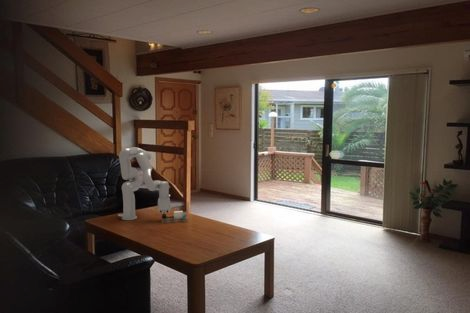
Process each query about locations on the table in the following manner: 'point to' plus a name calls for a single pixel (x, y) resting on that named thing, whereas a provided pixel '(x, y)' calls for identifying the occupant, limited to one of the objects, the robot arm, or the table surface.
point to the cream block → (178, 214)
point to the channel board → (174, 219)
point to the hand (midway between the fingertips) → (164, 218)
